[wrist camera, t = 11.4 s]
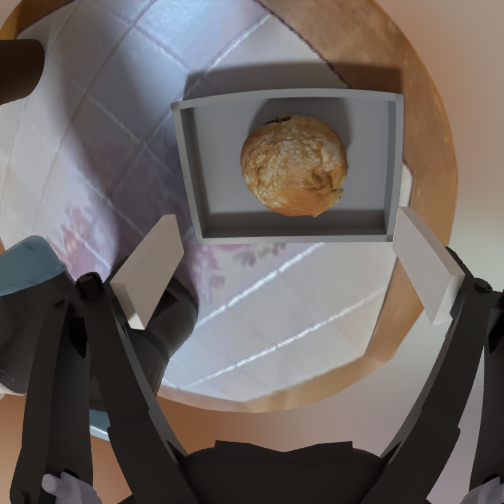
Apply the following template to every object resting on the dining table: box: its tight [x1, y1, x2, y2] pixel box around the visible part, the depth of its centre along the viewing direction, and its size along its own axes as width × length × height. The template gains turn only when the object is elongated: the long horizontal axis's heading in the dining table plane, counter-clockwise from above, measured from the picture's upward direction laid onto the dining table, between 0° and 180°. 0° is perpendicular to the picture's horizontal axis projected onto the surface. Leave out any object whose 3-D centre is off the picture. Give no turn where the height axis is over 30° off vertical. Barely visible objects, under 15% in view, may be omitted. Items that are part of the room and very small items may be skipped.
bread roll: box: [240, 113, 349, 217], centre depth 25 cm, size 10×10×8 cm
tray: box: [171, 88, 404, 245], centre depth 26 cm, size 22×16×3 cm
